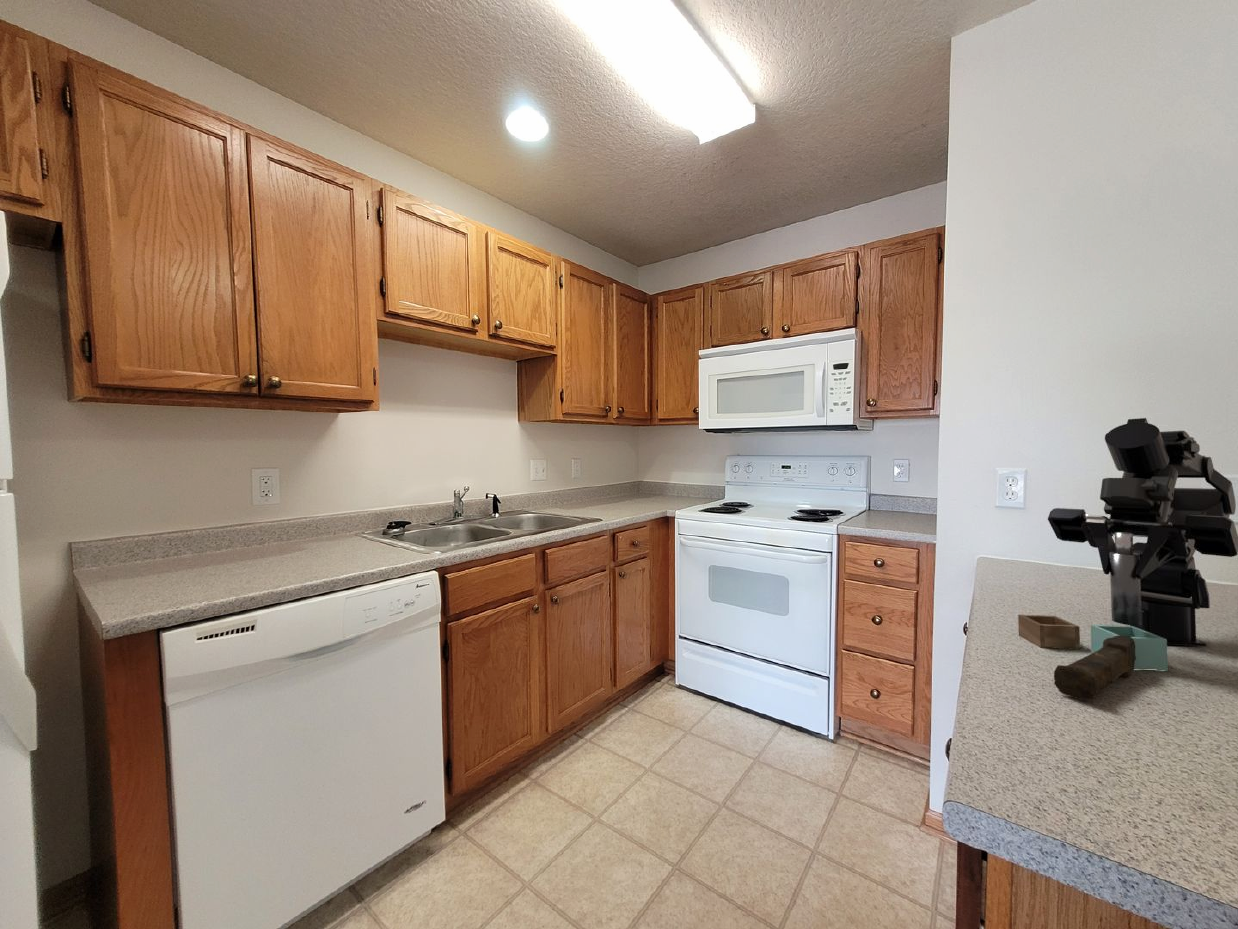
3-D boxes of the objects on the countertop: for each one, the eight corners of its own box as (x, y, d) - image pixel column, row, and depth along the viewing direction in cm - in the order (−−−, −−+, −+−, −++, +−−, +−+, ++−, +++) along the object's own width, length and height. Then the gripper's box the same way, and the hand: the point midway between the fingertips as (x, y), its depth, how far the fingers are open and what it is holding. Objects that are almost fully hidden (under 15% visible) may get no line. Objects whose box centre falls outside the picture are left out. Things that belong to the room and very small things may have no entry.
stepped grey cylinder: (1119, 617, 71) (1116, 530, 71) (1146, 623, 68) (1143, 533, 68) (1106, 620, 70) (1103, 532, 70) (1134, 626, 67) (1131, 535, 67)
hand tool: (1094, 706, 57) (1094, 668, 57) (1052, 692, 61) (1052, 656, 61) (1160, 673, 65) (1159, 639, 65) (1119, 662, 69) (1119, 630, 69)
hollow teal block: (1133, 656, 71) (1132, 626, 71) (1167, 671, 66) (1166, 639, 66) (1091, 654, 72) (1090, 624, 72) (1121, 669, 67) (1120, 637, 67)
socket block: (1055, 636, 79) (1054, 615, 79) (1080, 649, 74) (1079, 626, 74) (1018, 635, 80) (1018, 614, 80) (1040, 647, 75) (1039, 625, 75)
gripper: (1050, 459, 79) (1022, 532, 74) (1231, 456, 63) (1212, 549, 57) (1071, 503, 83) (1046, 575, 77) (1246, 511, 67) (1230, 602, 61)
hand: (1121, 574), depth 68 cm, fingers closed on stepped grey cylinder, 3 cm apart
